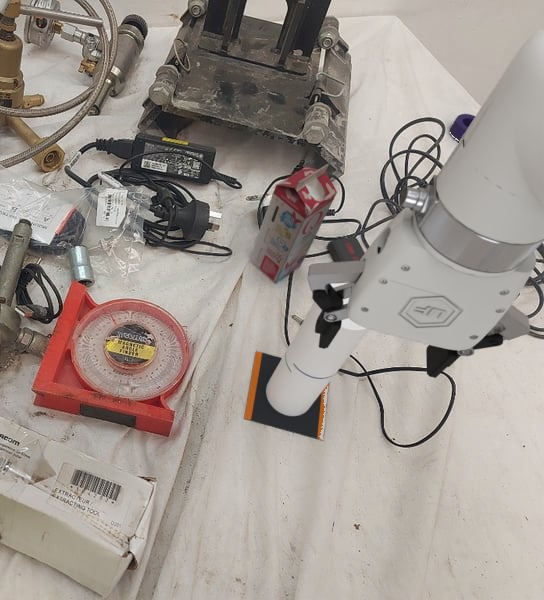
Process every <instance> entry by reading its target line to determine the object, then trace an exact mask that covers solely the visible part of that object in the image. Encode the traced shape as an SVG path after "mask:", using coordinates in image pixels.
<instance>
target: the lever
mask: <svg viewBox="0 0 544 600" xmlns="http://www.w3.org/2000/svg"><path fill="white" fill-rule="evenodd" d="M475 116H476V115H474V114H469V113H461V114H459V115H457V117H456V118H455V119H454V121H453V122H452V124H451V126H450V127H449V129H450V132H451V134H452V135H453V136H454V137H455V138H457V139H458V140H459V141H460V140H461V138H462V136H463V135H464V133H465V132H466V130H467V129H468V127H469V126H470V124H471V123H472V121H473V119H474V118H475Z"/></svg>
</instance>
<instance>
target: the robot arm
mask: <svg viewBox="0 0 544 600" xmlns="http://www.w3.org/2000/svg"><path fill="white" fill-rule="evenodd" d="M474 116H475V118H474V119H473V121H472V123H471V124H470V126H469V127H468V129H467V130H466V132H465V133H464V135H463V136H462V138H461V140H460V141H459V143H458V142H457V144H456V146H455V147H454V149H453V150H452V152H451V154H450V155H449V157H447V159H446V161H445V163H444V164H443V165H442V168H441V169H440V170H439V172H438V173H437V174H433V175H432V177H431V179H430V180H429V182H428V183H427V184H426V185H424V186H423V187H420V186H418V187H416V188H415V187H410V186H406V187H404V189H403V191H402V192H401V196H400V198H399V206H400V207H404V208H403V209H402V210H401V211H400V212H399V213H397V215H396V216H395V217H393V218H392V220H390V222H389V223H388V224H387V225H385V227H384V228H383V229H382V230H381V231H380V233H379V234H378V235H377V236H376V237H375V239H374V240H373V242H372V243H370V245H369V246H368V248H367V249H366V251H364V252H365V254H364V255H363V256H362V258H361V259H360V261H346V262H334V261H333V262H332V261H331V262H319V263H317V262H316V263H311V264H310V265H309V266H308V272H307V282H308V285H309V289H310V291H311V294H312V295H311V299H312V300H313V302H315V303H316V304H317V305H318V306H319V307H320V309H321V310H322V311H321V313H320V315H319V316H318V318H317V321H316V325H315V333H318V334H320V339H319V348H323V349H325V348H328V347H329V345H330V344H331V342H332V340H333V339H334V337H335V336H336V334H337V333H338V331H339V330H340V328H341V324H342V320H343V319H347V318H349V319H350V320H351V321H353V322H354V323H356V324H357V325H359V326H362V327H364V328H367V329H370V330H371V331H374V332H377V333H381V334H385V335H389V336H393V337H396V338H401V339H403V340H404V339H405V340H408V341H412V342H416V343H421V344H424V345H427V347H426V349H425V353H426V355H425V356H426V357H425V358H426V360H425V361H426V375H428V377H430V378H434V379H436V378H438V376H440V374H442V373H443V372H444V371H445V370H446V369H447V368H449V367H451V366H452V365H453V364H454V363H455V362H456V361H457V360H458V359H460V358H461V357H471V356H473V355H475V350H482V349H488V348H495V347H500V346H502V345H503V344H504V341H506V340H507V341H511V340H514V339H517V338H520V337H523V336H526V335H528V334H530V333H531V325H530V318H529V316H527V314H525V313H524V312H522V310H520V309H518V308H517V307H516V306H514V305H513V304H514V303H515V301H516V299H517V298H518V296H519V294H521V292H522V290H523V289H524V287H525V285H526V283H527V282H528V280H529V279H530V276H531V275H532V273H533V271H534V269H535V267H536V265H537V257H536V253H535V251H536V250H537V249H538V248H539V247H540V246H541V245H542V244H543V243H544V27H543V28H541V29H540V30H538V31H536V32H535V33H534V34H532V35H531V36H530V37H529V38H528V39H527V40H526V41H525V42H524V43H523V44H521V47H520V48H519V50H517V52H516V53H515V55H514V56H513V58H512V59H511V61H510V62H509V64H508V65H507V67H506V69H505V70H504V71H503V73H502V75H501V76H500V78H499V79H498V81H497V82H496V84H495V85H494V87H493V88H492V90H491V92H490V93H489V94H488V97H487V98H486V100H485V101H484V102H483V104H482V105H481V107H480V108H479V110H478V111H477V113H476V115H474ZM332 283H347V284H344V285H341V286H338V287H334V288H333V287H332V286H331V284H332ZM346 298H349V301H348V303H347V304H344V305H343V299H346ZM370 330H369V331H370Z"/></svg>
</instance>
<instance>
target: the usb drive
mask: <svg viewBox="0 0 544 600" xmlns="http://www.w3.org/2000/svg"><path fill="white" fill-rule="evenodd" d="M326 249H327V251H328V253H329V255H330V258H331V259H332V261H333V262H346V261H360V259H361V258H362V256H363V255H364V254H365V252H366V251H364V249H363V246H362V245H361V243H360V241H359V239H358V238H357V237H356V236H355V237H353V236H352V237H344V238H336V239H332V240H330V241H329V242H328V243H327V245H326Z"/></svg>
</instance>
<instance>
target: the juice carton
mask: <svg viewBox="0 0 544 600" xmlns="http://www.w3.org/2000/svg"><path fill="white" fill-rule="evenodd" d="M329 165H330V164H329V163H327V164H325V165H323V166H322V167H320V168H319V169H316V168H311V167H303V168H302V169H300V170H298V171H296V172H295V173H294V174H292V175H290V176H288V177H287V178H285V179H284V180H282V181H281V182H278V183H277V184H276V185H275V187H274V189H273V192H272V194H271V199H270V201H269V204H268V206H267V209H266V212H265V215H264V218H263V220H262V223H261V226H260V228H259V231H258V234H257V236H256V240H255V242H254V244H253V248H252V251H251V254H250V255H249V258H248V262H250V263H251V264H252V265H253V266H254V267H255V268H257V269H258V270H259V271H260V272H261V273H262V274H263V275H264V276H265V277H267V278H268V279H269V280H270V281H271V282H272V283H273V284H275V285H277V284H278V283H280V282H282V281H283V280H284V279H285V278H287V277H288V276H289V275H291V274H292V273H293V272H292V271H294V272H295V271H296V270H298V269H299V268H301V267H302V265H303V263H304V261H305V259H306V256H307V254H308V253H309V250H310V248H311V247H312V245H313V242H314V240H315V238H316V236H317V234H318V233H319V230H320V228H321V226H322V224H323V222H324V220H325V218H326V216H327V214H328V212H329V210H330V208H331V206H332V204H333V201H334V200H335V197H336V196H337V194H338V191H337V188H336V187H335V185H334V184H333V182H332V181H331V179H330V177H329V176H328V174H327V169H328V167H329ZM291 272H292V273H291ZM290 273H291V274H290Z"/></svg>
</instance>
